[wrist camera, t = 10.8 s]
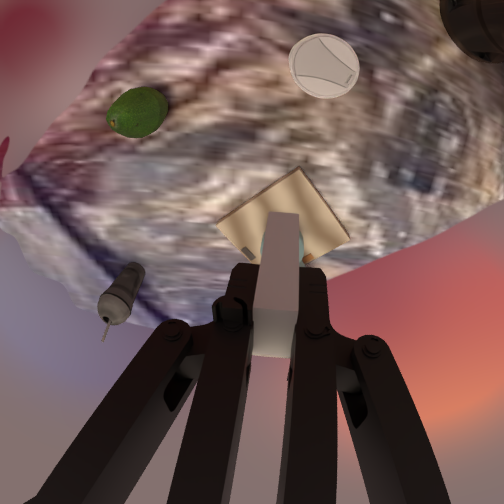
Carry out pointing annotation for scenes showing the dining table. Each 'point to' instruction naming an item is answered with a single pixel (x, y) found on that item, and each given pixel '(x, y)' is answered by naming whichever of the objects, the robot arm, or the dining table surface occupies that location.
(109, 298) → the beverage cup
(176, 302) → the dining table surface
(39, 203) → the dining table surface
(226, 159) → the dining table surface
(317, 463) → the robot arm
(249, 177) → the dining table surface
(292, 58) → the paper cup
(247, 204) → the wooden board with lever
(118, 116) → the avocado
